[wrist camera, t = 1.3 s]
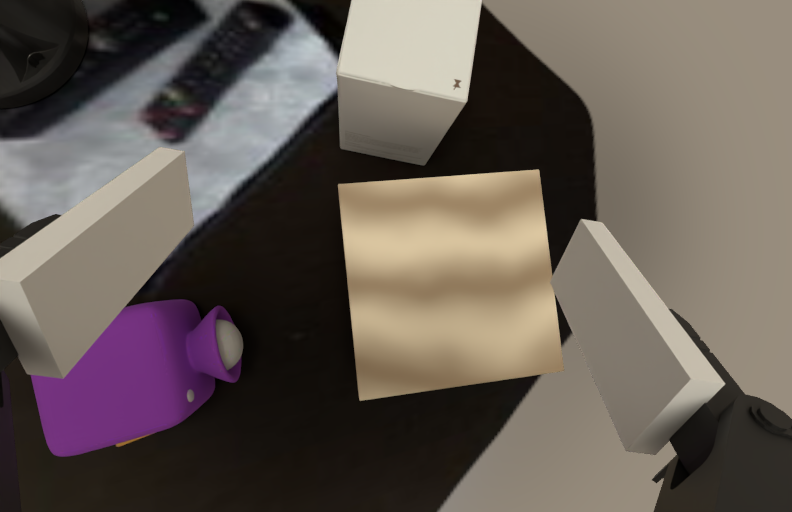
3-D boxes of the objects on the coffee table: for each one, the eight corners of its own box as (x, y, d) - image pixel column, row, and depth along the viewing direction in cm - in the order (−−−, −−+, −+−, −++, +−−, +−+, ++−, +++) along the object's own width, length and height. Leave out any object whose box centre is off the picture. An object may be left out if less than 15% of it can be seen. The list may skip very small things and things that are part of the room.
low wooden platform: (338, 208, 41) (337, 184, 31) (493, 195, 43) (538, 169, 33) (355, 371, 40) (359, 400, 30) (511, 350, 42) (563, 370, 32)
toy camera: (271, 370, 39) (247, 400, 29) (128, 440, 37) (50, 498, 27) (223, 266, 39) (183, 261, 29) (77, 331, 37) (-20, 349, 27)
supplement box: (439, 84, 43) (491, -20, 28) (425, 167, 42) (470, 105, 27) (353, 64, 42) (359, -56, 27) (337, 149, 41) (334, 73, 26)
